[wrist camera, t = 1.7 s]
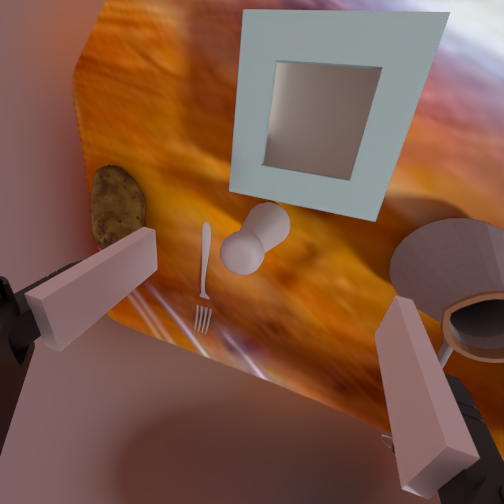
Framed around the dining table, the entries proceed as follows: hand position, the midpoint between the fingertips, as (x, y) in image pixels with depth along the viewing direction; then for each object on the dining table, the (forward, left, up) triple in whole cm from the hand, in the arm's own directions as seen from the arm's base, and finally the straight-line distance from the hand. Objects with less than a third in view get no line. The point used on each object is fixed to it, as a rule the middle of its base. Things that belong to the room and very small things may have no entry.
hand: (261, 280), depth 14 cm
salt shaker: (-4, +5, -21) cm, 22 cm away
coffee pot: (-9, -15, -22) cm, 28 cm away
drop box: (+8, +1, -21) cm, 23 cm away
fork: (-16, +14, -22) cm, 31 cm away
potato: (-7, +28, -22) cm, 36 cm away
